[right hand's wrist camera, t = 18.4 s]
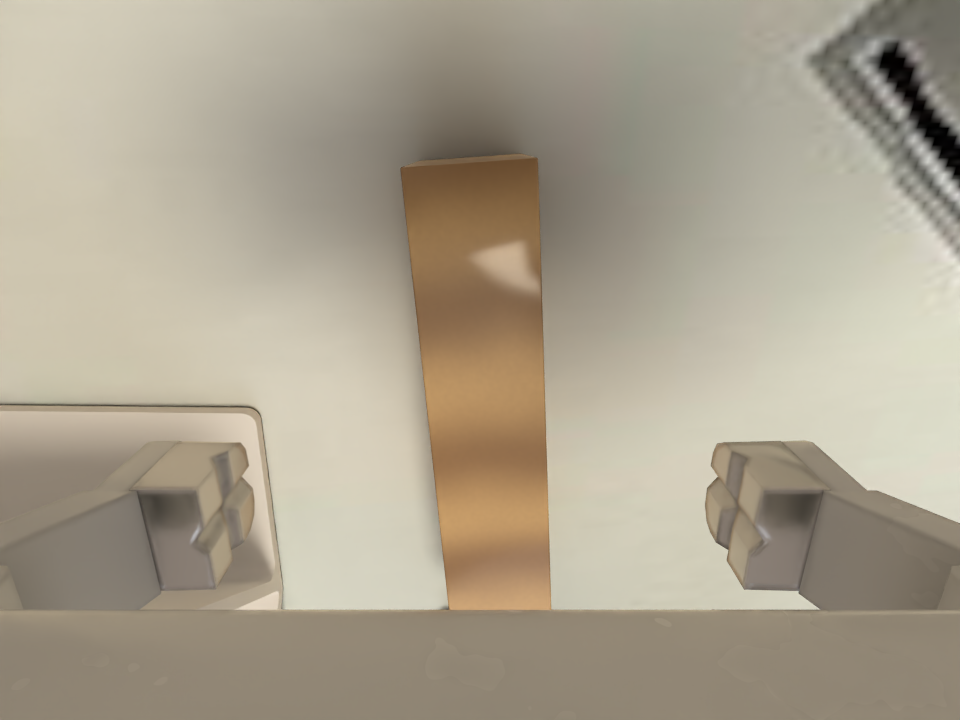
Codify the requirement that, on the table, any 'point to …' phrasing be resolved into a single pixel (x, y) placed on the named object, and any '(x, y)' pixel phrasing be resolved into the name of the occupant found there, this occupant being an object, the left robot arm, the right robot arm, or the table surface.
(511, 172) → the bar
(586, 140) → the table surface
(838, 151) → the table surface
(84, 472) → the tablet stand
